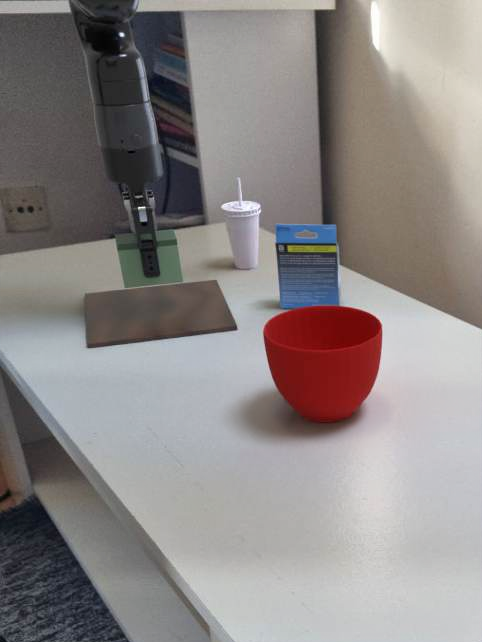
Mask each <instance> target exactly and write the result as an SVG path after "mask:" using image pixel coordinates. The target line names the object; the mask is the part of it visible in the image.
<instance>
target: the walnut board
mask: <svg viewBox="0 0 482 642" xmlns="http://www.w3.org/2000/svg"><path fill="white" fill-rule="evenodd" d="M84 302H85V303H84V307H85V321H86V322H85V324H86V325H85V326H86V344H87V348H88V349H91V348H99V347H107V346H115V345H124V344H131V343H132V344H133V343H140V342H147V341H148V342H149V341H156V340H157V341H158V340H163V339H173V338H182V337H190V336H198V335H204V334H213V333H223V332H229V331H237V330H239V329H238V325H237V322H236V320H235V318H234V315H233V313H232V311H231V309H230V307H229V305H228V302H227V299H226V297H225V295H224V293H223V291H222V289H221V286H220V285H219V281H218V280H217V279H210V280H200V281H199V280H197V281H190V282H179V283H169V284H160V285H151V286H141V287H132V288H124V289H115V290H105V291H96V292H95V291H94V292H88V293H84Z"/></svg>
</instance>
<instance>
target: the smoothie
mask: <svg viewBox="0 0 482 642" xmlns="http://www.w3.org/2000/svg"><path fill="white" fill-rule="evenodd" d="M235 180H236V187H237V189H236V190H237V198H238V200H235V201H229V202H226V203H224V204H222V205H221V206H220V211H221V212H220V214H221V215H222V216H223V218H224V223H225V227H226V232H227V237H228V239H229V244H230V248H231V252H232V253H231V254H232V257H233V261H234V265H235V268H236V269H239V270H252V269H255V268H257V267H258V266H259V237H260V236H259V235H260V234H259V232H260V214H261V213H262V209H261V204H260V203H259V202H256V201H252V200H243V195H242V185H241V178H240V177H236V179H235Z"/></svg>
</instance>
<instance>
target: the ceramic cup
mask: <svg viewBox="0 0 482 642" xmlns="http://www.w3.org/2000/svg"><path fill="white" fill-rule="evenodd" d="M262 337H263V344H264V350H265V355H266V360H267V364H268V369H269V372H270V376H271V378H272V382H273V383H274V386H275V388H276V389H277V391H278V393H279V394H280V396H282V398H283V399H284V401H285V402H286V403H287V404H288V405H289V407H291V408H292V409H293V410H294V411H296V412H297V413H298V414H299V415H300V416H301V417H302V418H304V419H305V420H308V421H311V422H315V423H335V422H340V421H344V420H345V419H348V418H350V417H351V416H353V414H354V413H355V412H356V410H357V409H359V408H360V406H361V405H362V404H363V403H364V402H365V401H366V399H367V398H368V397H369V396H370V393H371V392H372V390H373V388H374V385H375V382H376V380H377V378H378V375H379V371H380V366H381V359H382V349H383V324H382V323H381V321H380V319H379V318H378V317H377V316H376V315H374V314H372V313H370V312H369V311H367V310H363V309H359V308H355V307H351V306H345V305H340V306H333V305H320V306H308V307H302V308H297V309H288V310H286V311H284V312H280V313H279V314H276V315H274V316H272V317H271V318H270V319H269V320H267V322H266V323H265V324H264V325H263V329H262Z"/></svg>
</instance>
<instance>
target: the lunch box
mask: <svg viewBox="0 0 482 642" xmlns="http://www.w3.org/2000/svg"><path fill="white" fill-rule="evenodd" d="M155 234H156V241H157V242H158V249H156V250H157V256H158V262H159V268H160V276H159V277H152V278H146V277H145V276H144V272H143V266H142V261H141V255H140V251H139V248H137V244H138V243H137V237H136V234H135V233H133V232H129V233H115V234H114V239H115V243H116V244H115V245H116V250H117V255H118V260H119V266H120V270H121V277H122V281H123V286H124V289H132V288H142V287H151V286H160V285H169V284H179V283H184V278H183V271H182V264H181V258H180V252H179V246H178V244H179V243H178V239H177V236H176V234H175V231H174V229H173V228H171V229H170V228H169V229H161V230H156V231H155ZM140 237H141V240H150V239H152V237H151V234H150V233H149V234H141V236H140Z"/></svg>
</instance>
